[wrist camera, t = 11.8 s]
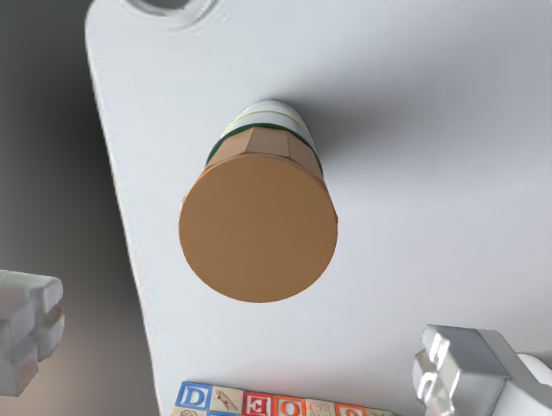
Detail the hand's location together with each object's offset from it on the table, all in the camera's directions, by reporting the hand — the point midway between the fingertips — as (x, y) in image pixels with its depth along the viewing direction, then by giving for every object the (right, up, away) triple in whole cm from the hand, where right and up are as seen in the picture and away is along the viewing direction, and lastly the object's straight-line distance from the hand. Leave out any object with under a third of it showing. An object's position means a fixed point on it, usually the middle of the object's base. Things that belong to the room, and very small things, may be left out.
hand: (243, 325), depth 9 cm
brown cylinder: (0, +4, +11) cm, 12 cm away
